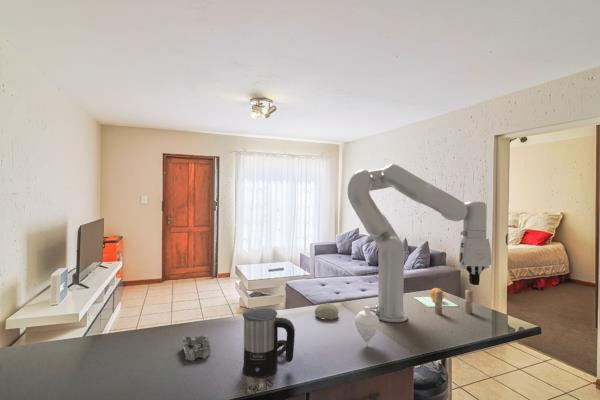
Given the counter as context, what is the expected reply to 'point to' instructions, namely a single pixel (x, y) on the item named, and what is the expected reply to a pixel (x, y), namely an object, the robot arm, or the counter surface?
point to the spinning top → (367, 324)
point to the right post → (468, 301)
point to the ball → (432, 293)
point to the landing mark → (431, 303)
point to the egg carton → (196, 347)
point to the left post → (438, 302)
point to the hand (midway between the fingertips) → (474, 284)
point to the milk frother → (265, 342)
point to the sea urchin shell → (326, 311)
